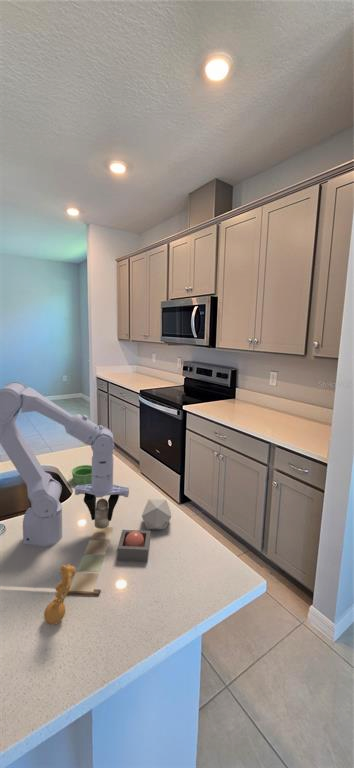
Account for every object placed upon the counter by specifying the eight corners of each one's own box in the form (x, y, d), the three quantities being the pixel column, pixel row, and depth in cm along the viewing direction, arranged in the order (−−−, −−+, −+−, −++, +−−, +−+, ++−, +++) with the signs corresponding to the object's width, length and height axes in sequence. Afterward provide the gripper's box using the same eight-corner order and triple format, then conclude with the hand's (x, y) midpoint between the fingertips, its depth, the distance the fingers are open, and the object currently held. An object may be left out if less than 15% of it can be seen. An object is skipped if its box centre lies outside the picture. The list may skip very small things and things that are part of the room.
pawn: (93, 528, 90) (93, 502, 89) (96, 519, 94) (96, 495, 93) (107, 528, 90) (107, 503, 89) (110, 520, 94) (110, 496, 93)
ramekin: (67, 484, 121) (66, 473, 120) (79, 474, 130) (79, 463, 129) (89, 488, 119) (89, 476, 118) (100, 477, 128) (100, 466, 127)
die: (159, 542, 92) (179, 511, 94) (133, 524, 93) (153, 493, 94) (160, 534, 100) (178, 505, 102) (135, 517, 101) (154, 489, 103)
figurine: (45, 606, 69) (43, 555, 67) (75, 599, 71) (74, 549, 69) (43, 642, 61) (41, 585, 59) (77, 633, 63) (76, 578, 61)
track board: (62, 594, 72) (62, 591, 72) (90, 528, 96) (90, 525, 96) (98, 595, 72) (98, 592, 72) (118, 529, 96) (118, 526, 96)
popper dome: (123, 556, 83) (123, 538, 83) (126, 543, 88) (126, 526, 87) (143, 557, 83) (143, 539, 83) (144, 544, 88) (145, 527, 87)
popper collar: (116, 563, 82) (116, 549, 81) (121, 542, 90) (121, 529, 89) (148, 565, 82) (148, 550, 81) (150, 544, 90) (151, 530, 89)
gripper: (71, 478, 86) (71, 525, 88) (126, 481, 86) (125, 528, 88) (79, 466, 93) (79, 511, 95) (130, 469, 93) (129, 513, 95)
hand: (102, 518), depth 92 cm, fingers closed on pawn, 4 cm apart
